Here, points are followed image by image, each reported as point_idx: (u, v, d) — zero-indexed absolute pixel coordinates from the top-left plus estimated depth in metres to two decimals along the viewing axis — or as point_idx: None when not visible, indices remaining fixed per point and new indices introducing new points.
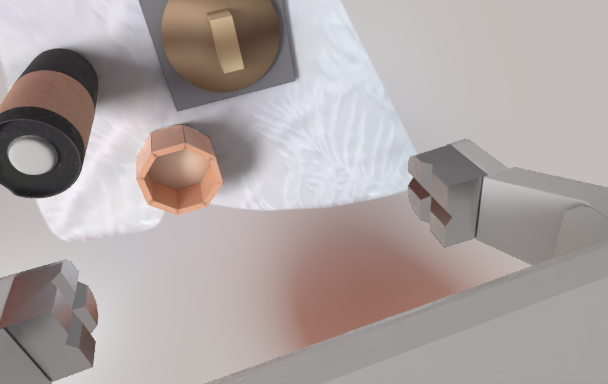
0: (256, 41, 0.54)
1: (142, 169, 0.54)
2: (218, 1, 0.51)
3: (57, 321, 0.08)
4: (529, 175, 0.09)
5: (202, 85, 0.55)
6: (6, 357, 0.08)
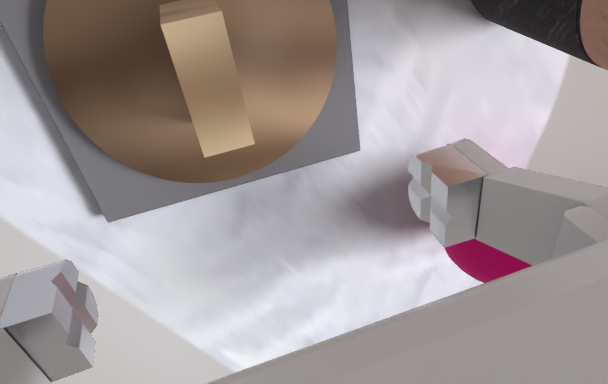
0: (114, 50, 0.21)
1: None
2: None
3: (57, 321, 0.08)
4: (529, 175, 0.09)
5: None
6: (6, 357, 0.08)
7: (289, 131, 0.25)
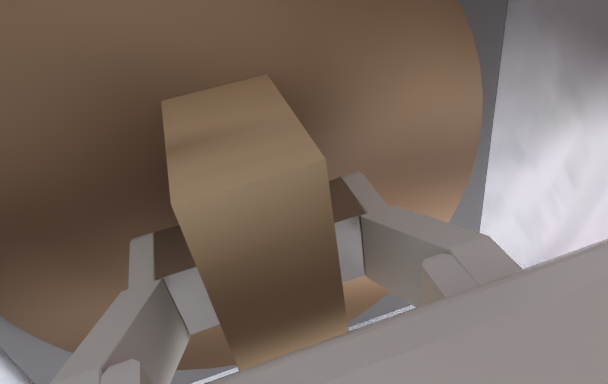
0: (68, 189, 0.10)
1: None
2: None
3: None
4: (405, 215, 0.09)
5: None
6: (163, 306, 0.08)
7: None
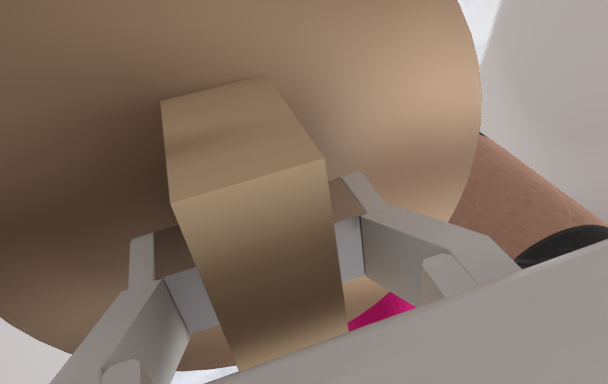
0: (68, 190, 0.10)
1: None
2: None
3: None
4: (405, 215, 0.09)
5: None
6: (163, 306, 0.08)
7: None
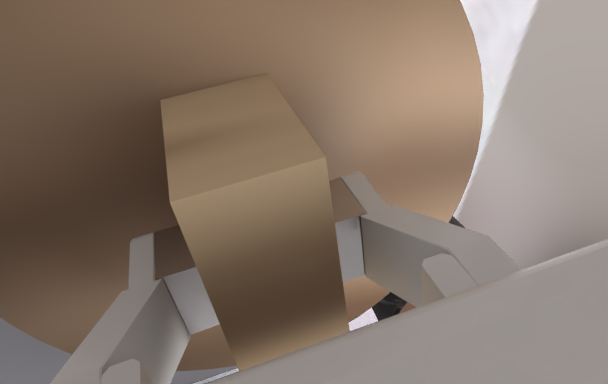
0: (67, 189, 0.10)
1: None
2: None
3: None
4: (405, 215, 0.09)
5: None
6: (163, 306, 0.08)
7: None
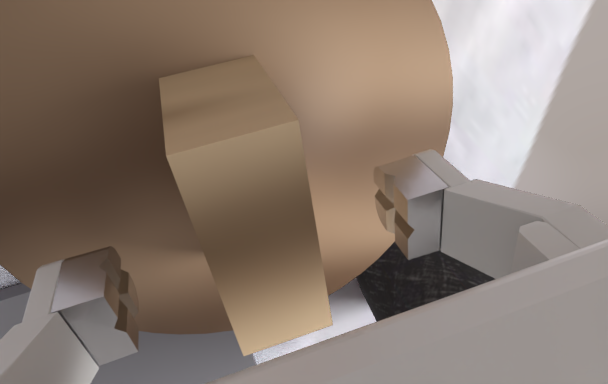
0: (75, 158, 0.11)
1: None
2: None
3: (108, 305, 0.08)
4: (489, 188, 0.09)
5: None
6: (59, 340, 0.08)
7: (362, 251, 0.16)
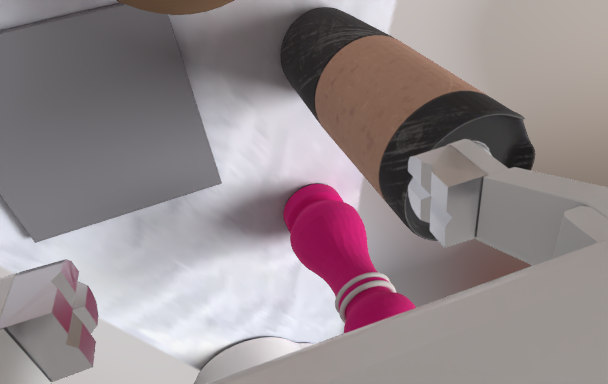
0: None
1: None
2: None
3: (57, 321, 0.08)
4: (529, 175, 0.09)
5: None
6: (6, 357, 0.08)
7: None
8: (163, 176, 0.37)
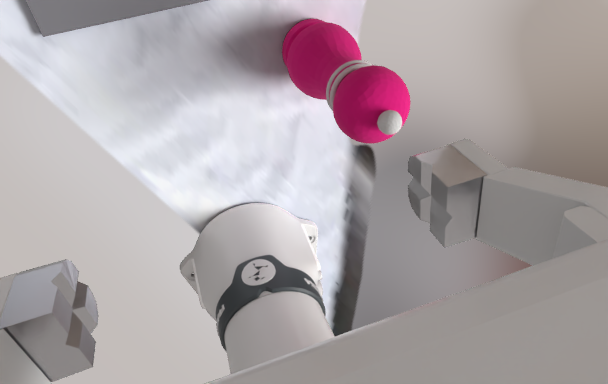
0: None
1: None
2: None
3: (57, 321, 0.08)
4: (529, 175, 0.09)
5: None
6: (6, 357, 0.08)
7: None
8: None
